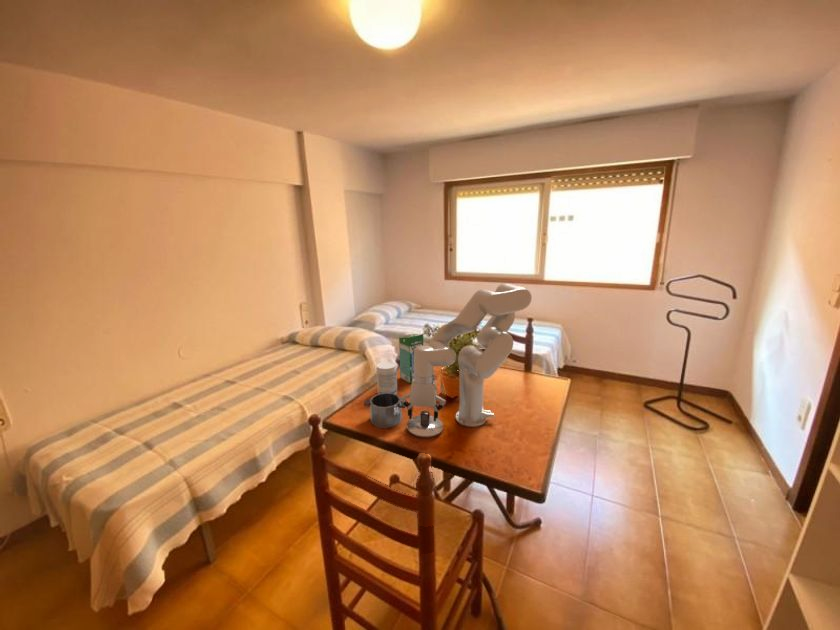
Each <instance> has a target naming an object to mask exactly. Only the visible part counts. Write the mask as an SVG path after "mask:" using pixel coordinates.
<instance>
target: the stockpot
mask: <svg viewBox="0 0 840 630" xmlns="http://www.w3.org/2000/svg"><path fill="white" fill-rule="evenodd" d="M363 406H364V407H365V406H366V407H369V416H370V423H371V424H372V426H374V427H376V428H378V429H389V428H394V427H396V426H398V425H399V424H400V423H401V421H402V419H403V415H402V414H403V413H402V409H406V408H407V407H406V406H405V405H404V404H403V402H402V400H401V396H400V395H398V394H397V393H396V394H394V393H381V394H378V393H377V394H375V395H373V396H371V398H366V399H365V401H364V403H363Z"/></svg>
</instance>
